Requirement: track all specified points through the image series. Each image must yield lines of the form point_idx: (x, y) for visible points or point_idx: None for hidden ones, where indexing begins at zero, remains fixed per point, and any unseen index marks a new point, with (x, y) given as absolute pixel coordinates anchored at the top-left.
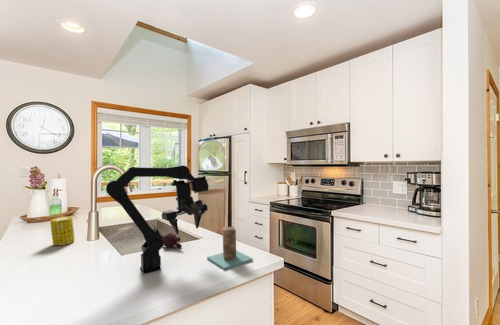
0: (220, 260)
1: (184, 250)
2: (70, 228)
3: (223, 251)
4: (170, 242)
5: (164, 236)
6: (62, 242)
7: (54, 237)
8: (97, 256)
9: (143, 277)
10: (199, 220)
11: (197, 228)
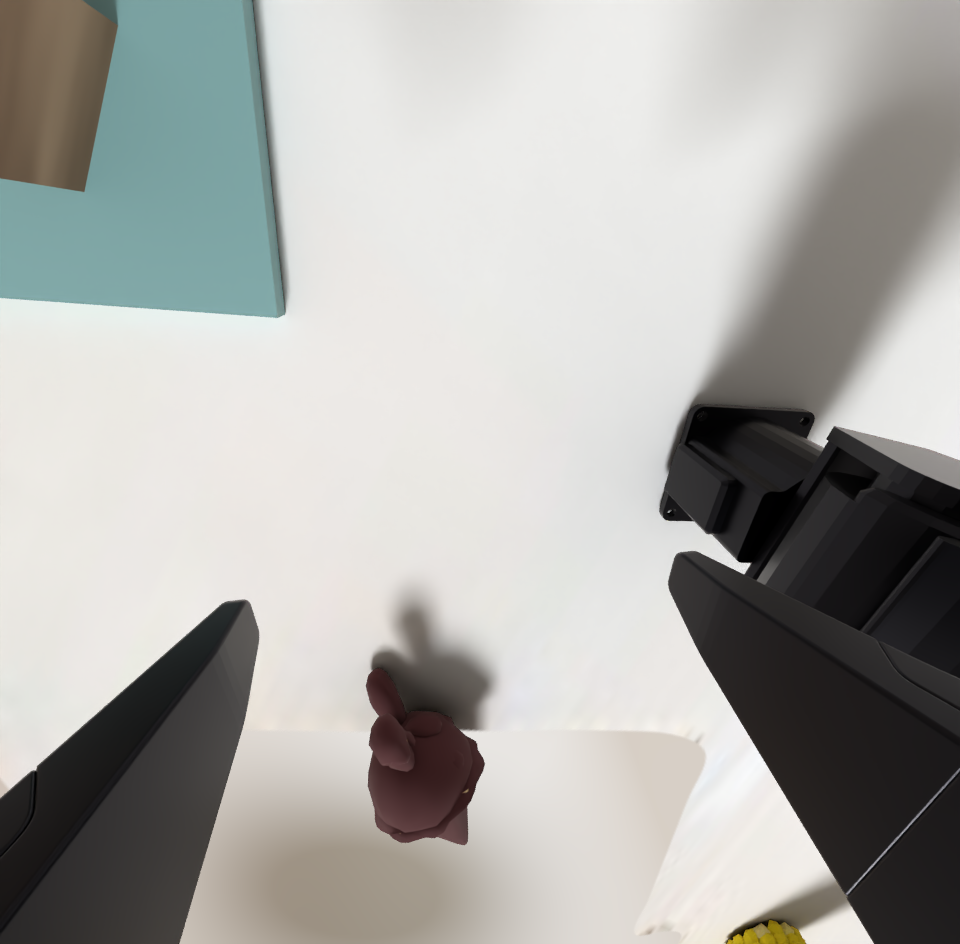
0: (169, 77)
1: (373, 618)
2: None
3: (30, 116)
4: (442, 737)
5: (456, 820)
6: (787, 938)
7: None
8: (773, 778)
9: (847, 358)
10: (46, 778)
11: (241, 601)
